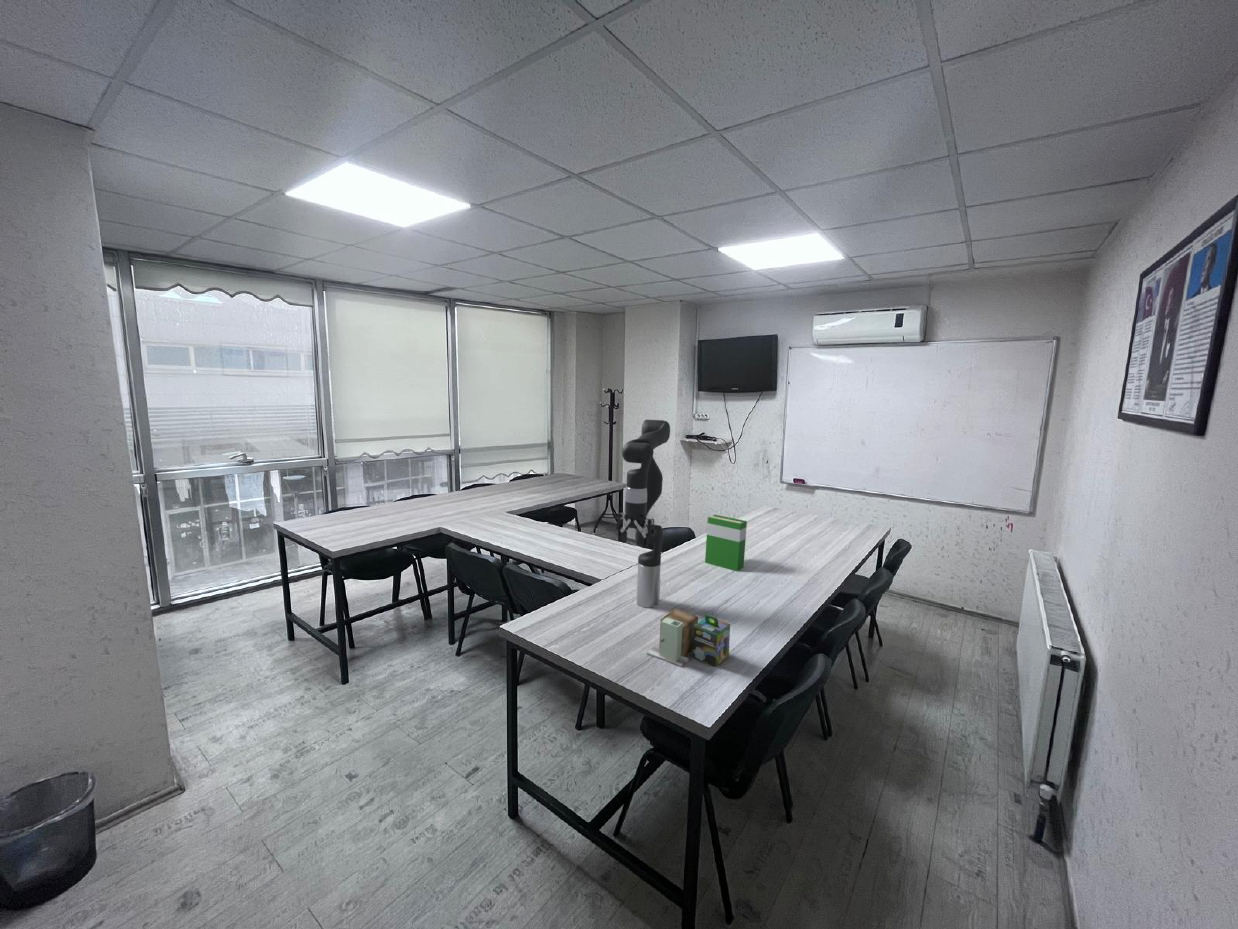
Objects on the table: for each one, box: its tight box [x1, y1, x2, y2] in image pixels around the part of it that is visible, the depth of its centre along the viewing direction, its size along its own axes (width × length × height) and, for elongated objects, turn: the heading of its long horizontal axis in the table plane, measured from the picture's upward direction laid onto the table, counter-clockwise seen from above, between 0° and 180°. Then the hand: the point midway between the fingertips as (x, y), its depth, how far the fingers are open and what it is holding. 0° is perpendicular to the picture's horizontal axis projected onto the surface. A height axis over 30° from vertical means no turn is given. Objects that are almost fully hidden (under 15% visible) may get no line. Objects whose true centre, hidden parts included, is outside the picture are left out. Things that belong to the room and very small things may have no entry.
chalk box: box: [692, 613, 731, 667], centre depth 164 cm, size 9×9×15 cm
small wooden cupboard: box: [646, 608, 699, 668], centre depth 167 cm, size 15×13×11 cm
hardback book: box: [704, 514, 748, 572], centre depth 248 cm, size 18×7×24 cm, turn 52°
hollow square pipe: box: [659, 617, 683, 661], centre depth 162 cm, size 4×6×12 cm
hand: (634, 544), depth 174 cm, fingers open, 8 cm apart
